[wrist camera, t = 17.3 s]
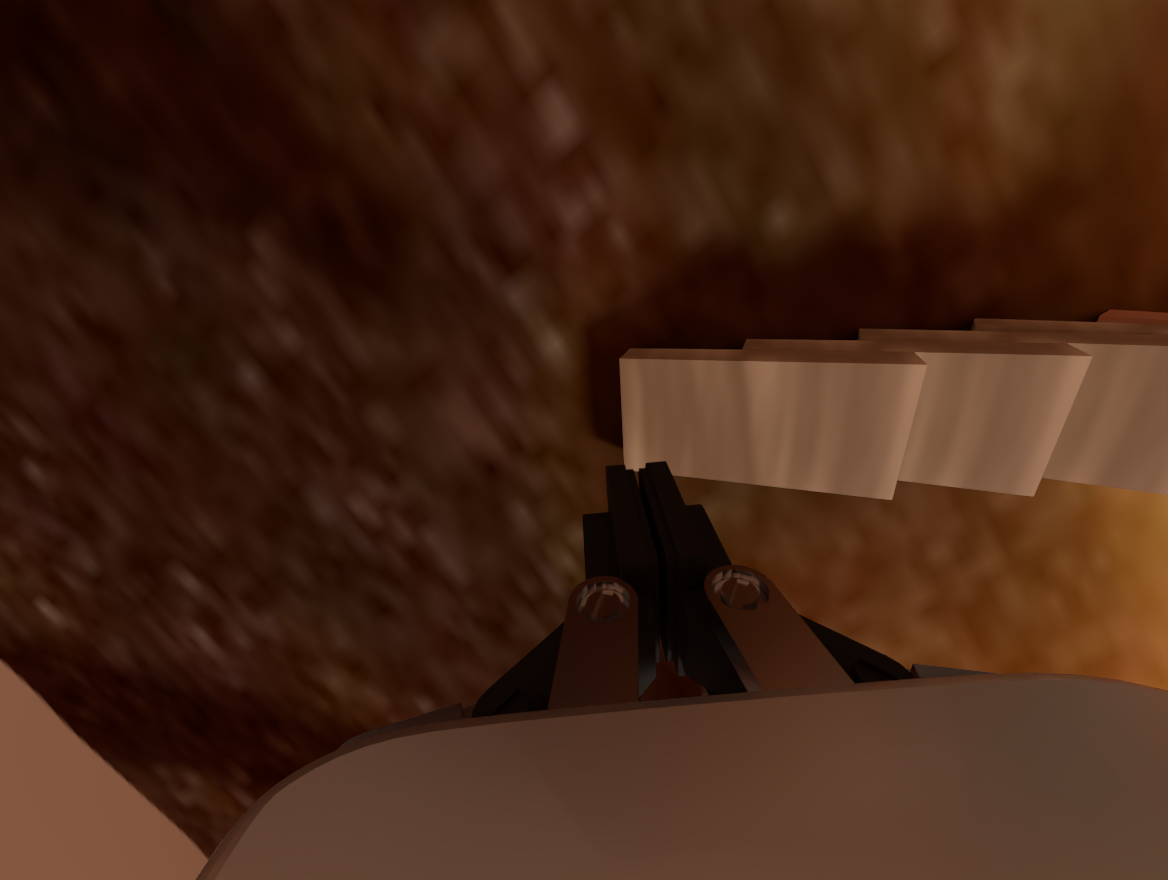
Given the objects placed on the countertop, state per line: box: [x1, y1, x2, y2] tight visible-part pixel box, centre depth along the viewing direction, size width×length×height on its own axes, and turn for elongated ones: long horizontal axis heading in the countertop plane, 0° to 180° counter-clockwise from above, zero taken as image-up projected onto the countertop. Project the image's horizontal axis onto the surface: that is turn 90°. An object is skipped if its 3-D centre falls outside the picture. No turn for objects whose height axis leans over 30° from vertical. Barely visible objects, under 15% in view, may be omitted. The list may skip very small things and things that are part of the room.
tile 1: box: [619, 348, 927, 500], centre depth 17 cm, size 2×5×10 cm
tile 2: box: [742, 339, 1093, 497], centre depth 17 cm, size 2×5×10 cm
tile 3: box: [857, 329, 1168, 495], centre depth 17 cm, size 2×5×10 cm
